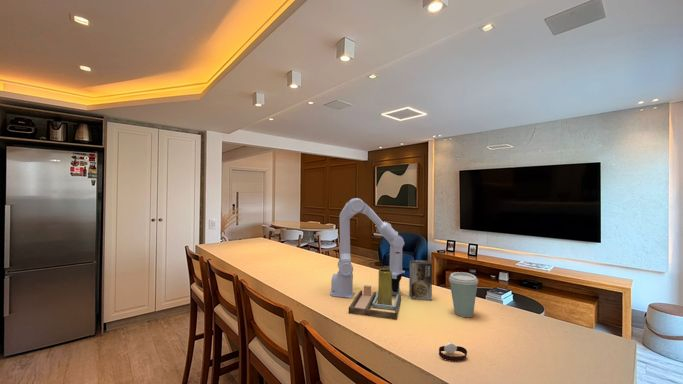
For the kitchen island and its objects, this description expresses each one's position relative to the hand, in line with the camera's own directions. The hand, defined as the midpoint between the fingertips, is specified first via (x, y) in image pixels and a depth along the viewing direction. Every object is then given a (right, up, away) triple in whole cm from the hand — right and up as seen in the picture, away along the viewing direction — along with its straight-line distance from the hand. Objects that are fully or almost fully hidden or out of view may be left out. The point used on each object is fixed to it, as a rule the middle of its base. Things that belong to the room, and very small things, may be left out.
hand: (395, 290), depth 130 cm
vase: (-7, -1, -14) cm, 16 cm away
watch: (+6, -1, -52) cm, 52 cm away
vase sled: (-5, -1, -8) cm, 10 cm away
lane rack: (-10, -1, -15) cm, 18 cm away
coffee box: (+11, -2, -3) cm, 11 cm away
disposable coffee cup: (+22, -2, -21) cm, 31 cm away
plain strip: (-16, -1, -13) cm, 21 cm away
